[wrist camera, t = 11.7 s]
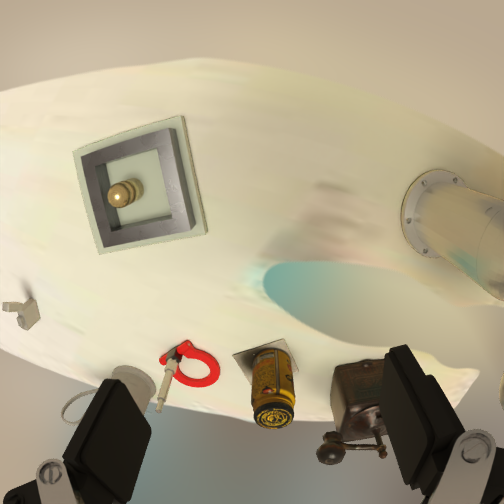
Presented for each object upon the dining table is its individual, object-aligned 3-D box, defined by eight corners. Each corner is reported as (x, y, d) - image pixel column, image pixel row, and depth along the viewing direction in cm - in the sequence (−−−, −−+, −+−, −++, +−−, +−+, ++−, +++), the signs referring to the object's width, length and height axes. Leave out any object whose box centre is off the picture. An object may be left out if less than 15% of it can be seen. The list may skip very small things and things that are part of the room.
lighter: (40, 319, 46) (17, 341, 38) (34, 317, 46) (11, 339, 38) (32, 285, 43) (6, 305, 36) (26, 283, 43) (0, 303, 36)
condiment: (298, 370, 47) (306, 426, 35) (250, 384, 48) (248, 440, 37) (283, 337, 45) (289, 394, 33) (232, 354, 46) (224, 410, 35)
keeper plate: (183, 116, 34) (180, 115, 33) (207, 231, 39) (205, 234, 38) (78, 150, 36) (72, 151, 34) (103, 251, 41) (99, 254, 39)
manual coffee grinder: (393, 354, 46) (433, 433, 29) (381, 397, 49) (409, 472, 32) (304, 365, 46) (318, 456, 29) (301, 408, 50) (311, 491, 33)
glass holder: (157, 403, 51) (136, 465, 37) (91, 385, 51) (61, 438, 36) (154, 371, 48) (128, 437, 34) (84, 353, 48) (46, 407, 34)
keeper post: (141, 175, 35) (122, 181, 30) (146, 198, 36) (129, 207, 31) (120, 181, 36) (100, 187, 30) (125, 203, 37) (106, 213, 31)
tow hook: (230, 370, 48) (191, 335, 45) (225, 432, 36) (174, 398, 33) (195, 389, 50) (156, 357, 47) (184, 447, 38) (135, 416, 35)
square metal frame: (175, 128, 33) (168, 127, 31) (196, 224, 37) (190, 230, 35) (92, 154, 34) (80, 156, 32) (113, 240, 38) (103, 247, 36)
